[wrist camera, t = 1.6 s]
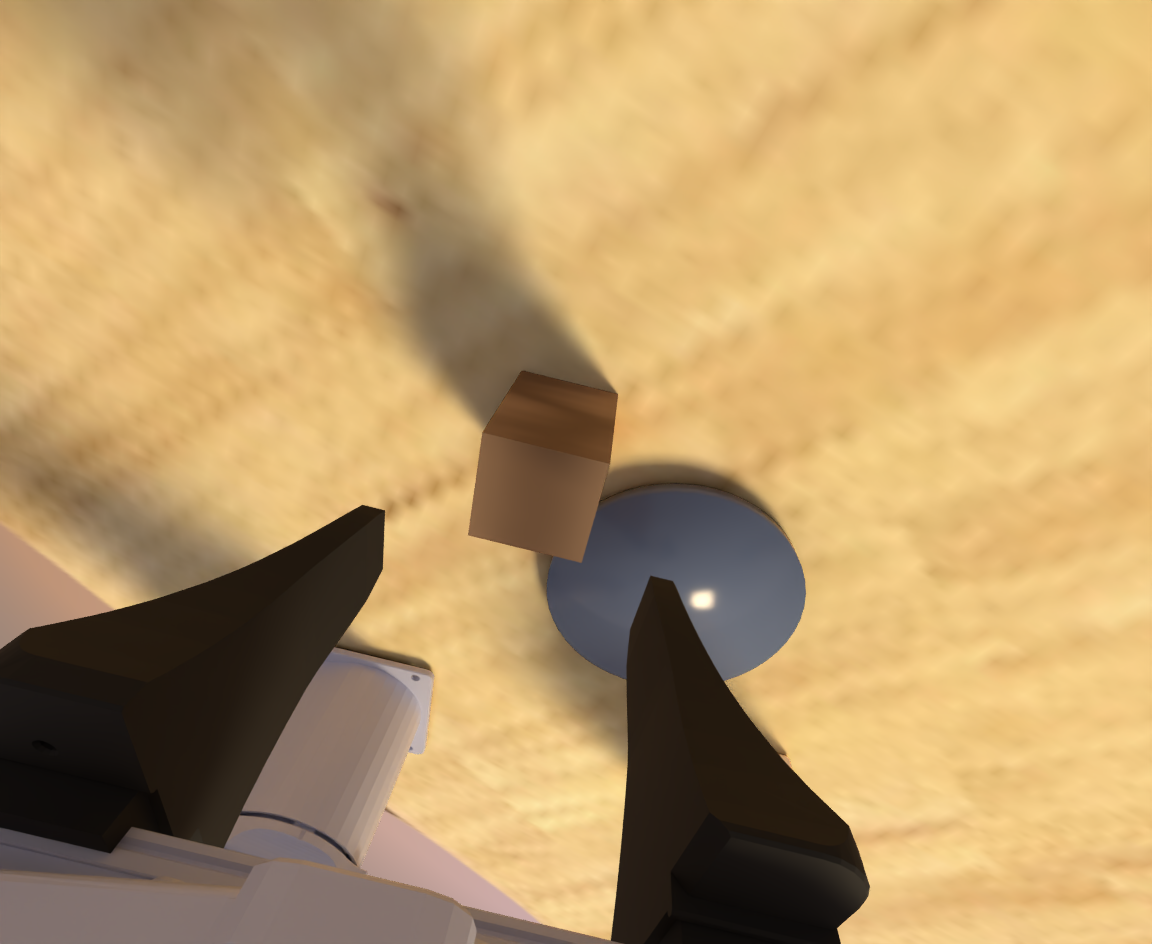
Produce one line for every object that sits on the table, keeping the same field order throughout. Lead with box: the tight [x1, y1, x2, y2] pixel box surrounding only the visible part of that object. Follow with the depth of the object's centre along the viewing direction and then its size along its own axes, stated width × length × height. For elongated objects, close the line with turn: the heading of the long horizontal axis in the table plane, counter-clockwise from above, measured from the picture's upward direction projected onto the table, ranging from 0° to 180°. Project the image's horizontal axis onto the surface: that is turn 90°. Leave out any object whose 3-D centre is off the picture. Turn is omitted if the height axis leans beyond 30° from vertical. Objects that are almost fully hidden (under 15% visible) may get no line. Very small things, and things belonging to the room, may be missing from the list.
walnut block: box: [468, 371, 618, 563], centre depth 20 cm, size 4×4×6 cm
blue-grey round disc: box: [547, 483, 806, 681], centre depth 25 cm, size 12×12×1 cm
